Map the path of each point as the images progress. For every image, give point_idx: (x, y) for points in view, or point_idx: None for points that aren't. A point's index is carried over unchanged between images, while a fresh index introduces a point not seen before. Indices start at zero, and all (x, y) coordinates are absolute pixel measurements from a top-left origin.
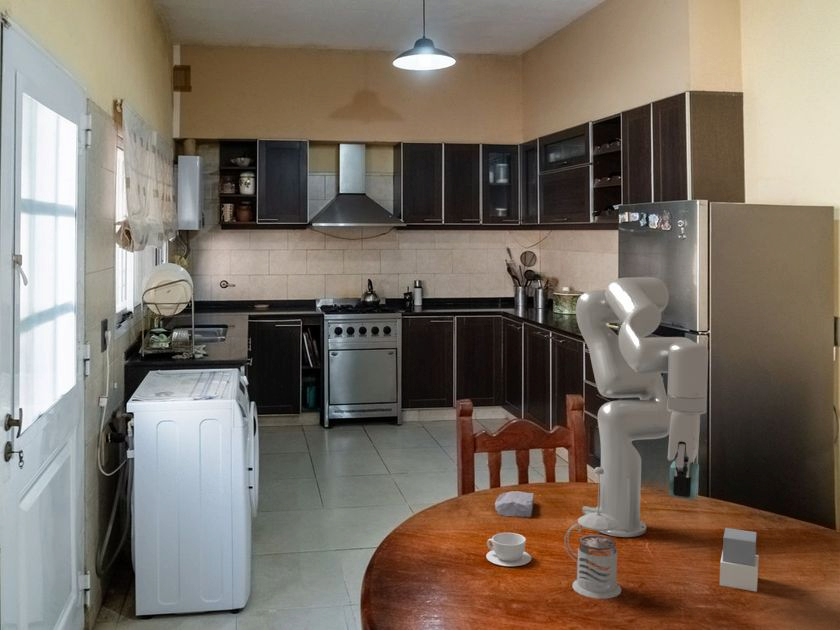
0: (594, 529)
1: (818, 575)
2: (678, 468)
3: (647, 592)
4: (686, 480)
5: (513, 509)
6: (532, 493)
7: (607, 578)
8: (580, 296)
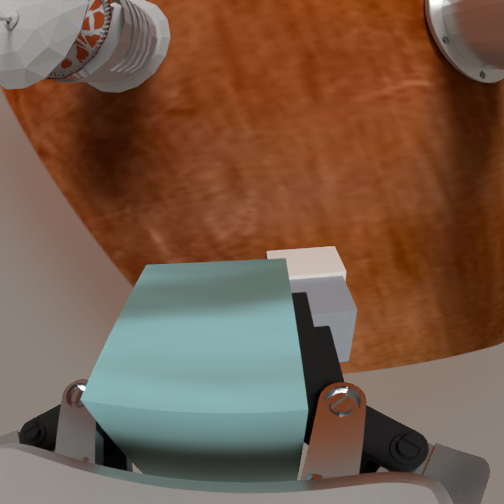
0: None
1: (370, 359)
2: (5, 441)
3: (152, 135)
4: None
5: None
6: None
7: (78, 76)
8: None
